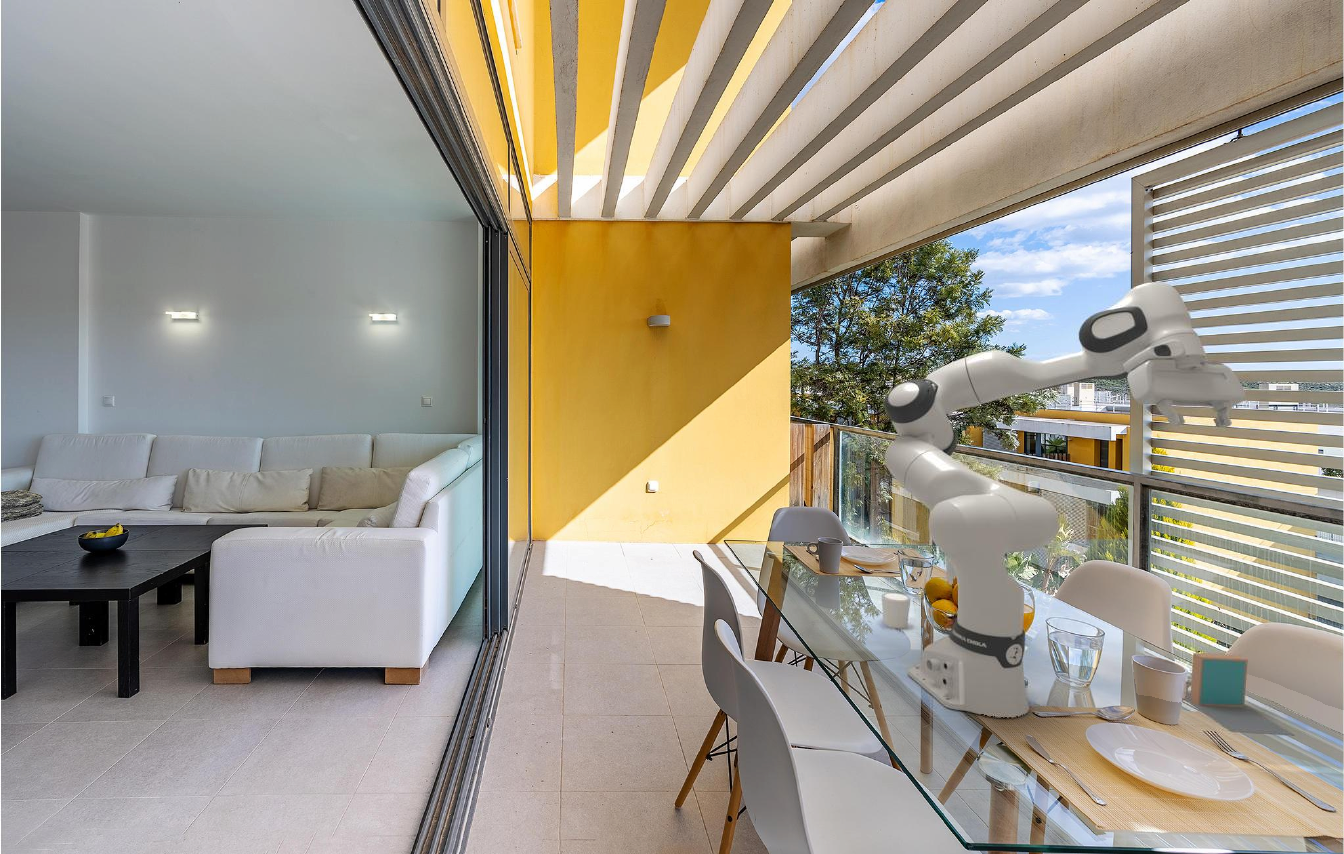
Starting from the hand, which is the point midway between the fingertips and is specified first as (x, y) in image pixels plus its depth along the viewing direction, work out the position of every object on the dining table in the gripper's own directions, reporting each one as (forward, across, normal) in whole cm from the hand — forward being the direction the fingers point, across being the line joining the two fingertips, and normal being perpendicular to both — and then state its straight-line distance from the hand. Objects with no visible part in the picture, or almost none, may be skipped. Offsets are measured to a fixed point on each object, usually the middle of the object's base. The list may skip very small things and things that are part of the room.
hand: (1201, 425), depth 117 cm
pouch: (+22, +9, -72) cm, 75 cm away
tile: (+46, -8, -24) cm, 52 cm away
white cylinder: (+26, +33, -65) cm, 77 cm away
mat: (+48, -7, -21) cm, 53 cm away
